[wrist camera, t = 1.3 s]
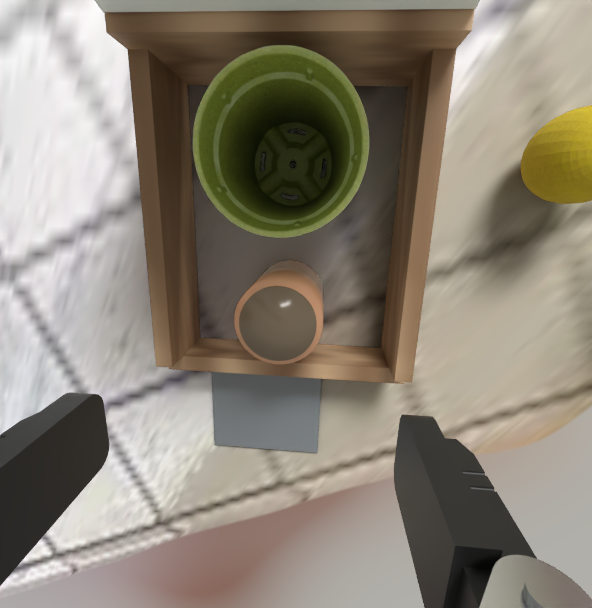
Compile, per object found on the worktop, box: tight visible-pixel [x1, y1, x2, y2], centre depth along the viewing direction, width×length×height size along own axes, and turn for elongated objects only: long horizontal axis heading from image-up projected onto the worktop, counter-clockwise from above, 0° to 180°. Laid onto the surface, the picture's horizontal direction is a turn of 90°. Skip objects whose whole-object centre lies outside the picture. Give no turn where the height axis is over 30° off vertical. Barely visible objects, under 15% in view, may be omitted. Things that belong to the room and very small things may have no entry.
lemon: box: [521, 105, 592, 204], centre depth 21 cm, size 6×6×8 cm
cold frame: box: [105, 9, 474, 384], centre depth 24 cm, size 18×22×8 cm
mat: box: [212, 372, 321, 453], centre depth 32 cm, size 10×8×1 cm
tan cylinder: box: [234, 260, 323, 364], centre depth 25 cm, size 6×6×8 cm
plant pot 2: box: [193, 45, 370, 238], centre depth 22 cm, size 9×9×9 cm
